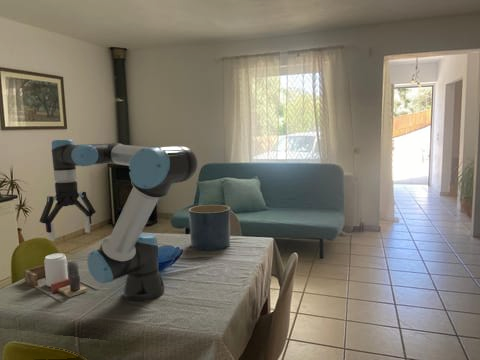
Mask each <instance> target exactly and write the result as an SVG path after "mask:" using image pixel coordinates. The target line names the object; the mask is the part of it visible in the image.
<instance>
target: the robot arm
mask: <svg viewBox="0 0 480 360" xmlns="http://www.w3.org/2000/svg"><path fill="white" fill-rule="evenodd" d="M50 151H51V156H52V166H53V167H52V168H53V174H54V175H53V176H54V177H53V178H54V181H55V183H54V190H55V196H51V195H48V196H47V197H46V204H45V205H44V208H43V211H42V214H41V216H40V219H39V222H40V223H41V224H45V230H46V231H45V232H46V233H48V235H49V236H48V237H49V241H50V242H56V236H55V235H56V234H55V224H54V223H52V222H53V221H54V220H55V218H56V216H57V215H58V213H59V212H60V211H61V209H62V208H63V207H68V206H76V207H77V209H79V210H80V211H81V212H82V213H83V214H84V215H83V222H84V232H85V233H86V234H90V233H91V224H92V217H93V215H94V214H96V210H95V208H94V206H93V205H92V203H91V201H90V200H89V198H88V195H87V192H86V191H83V190H81V191H80V192H78V182H77V179H78V176H77V168H76V167H77V166H78V167H79V166H80V167H90V166H94V165H103V164H104V165H105V164H112V165H113V164H115V165H120V166H121V165H122V166H128V169H129V170H130V171H129V172H128V174H129V179H130V180H131V181H130V182H131V185H132V189H131V191H130V193H129V195H128V197H127V200H126V202H125V204H124V206H123V207H122V210H121V212H120V215H119V216H118V219H117V221H116V222H115V225H114V227H113V229H112V231H111V233H110V235H109V236H106V237H105V238H103V240H102V242H101V244H100V247H99V248H98V249H97V250H96V249H94V250H92V251H90V252H89V254H88V256H87V261H86V263H87V269H88V270H89V272H90V275H91V276H92V278H93V279H94V280H95V281H96V282H98V283H100V284H104V285H105V284H107V283H112V282H113V281H115V280H118V279H120V278H123V277H125V276H126V279H125V284H124V288H123V297H124V299H126V300H127V301H131V302H145V301H146V302H148V301H150V300H154V299H157V298H159V297H160V296H162V295H163V294H164V293H165V283H164V281H163V278H162V276H161V273H160V271H159V269H160V267H159V249H158V247H159V244H158V239H157V238H158V237H157V236H156V235H155V234H153V233H146V232H143V231H144V228H145V226H146V225H147V223H148V221H149V219H150V216H151V215H152V213H153V211H154V210H155V207H156V205H157V203H158V201H159V200H160V199H163V198H164V197H166V196H167V194H168V193H169V191H170V189H171V187H172V185H173V184H177V183H183V182H186V181H189V180H190V179H191V178H192V177H193V176H194V175H195V173H196V172H197V170H198V158H197V156H196V154H195V152H194V151H193V150H192V149H190V148H189V147H187V146H184V145H167V146H138V145H129V144H128V145H127V144H122V143H121V142H120V143H118V142H112V143H111V142H110V143H95V144H94V143H93V144H92V143H91V144H90V143H88V144H86V143H85V144H75V142H74V140H72V139H54V140H52V142H51V150H50ZM78 198H80V199H81V200H82V202H83V204H84V205H85V206H84V205H83V204H82V202H81V201H79V200H78ZM55 201H57V202H56V203H55V205H54V207H53V204H54V202H55ZM52 207H53V208H52Z"/></svg>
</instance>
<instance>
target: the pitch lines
mask: <svg viewBox="0 0 480 360" xmlns="http://www.w3.org/2000/svg"><path fill="white" fill-rule="evenodd" d="M68 278H69V276H68ZM80 284H82V285H85V286H87V287H89V288H92V289H93V290H96V291H97V290H99V287H97V286H94V285H92V284H90V283H88V282H85V281H83V280H81V279H80ZM34 288H35V289H37V290H39V291H41V292H42V293H44V294H46V295H48V296H49V297H51V298H53V299H54V300H56V301H58V302H60V303H64V302H65V301H64V299H62V298H60V297H58V296H57V295H55V294H53V293H52V292H49V291H47V290H45V289H44V288H42V287H41V286H39V285H38V286H35V287H34Z"/></svg>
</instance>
